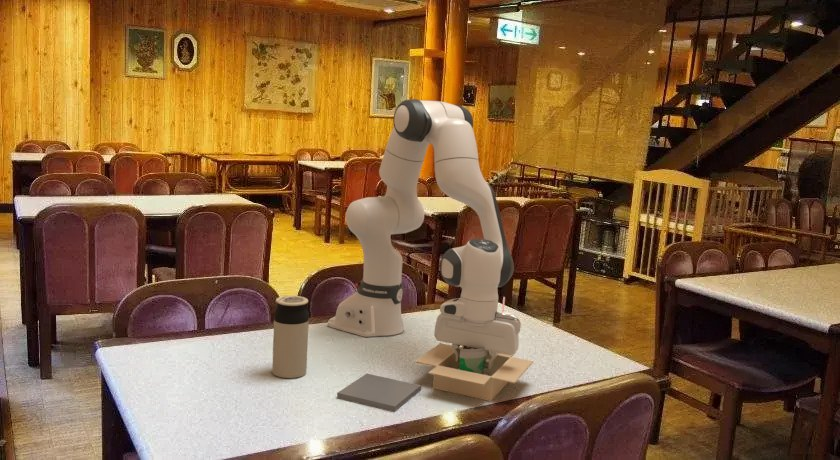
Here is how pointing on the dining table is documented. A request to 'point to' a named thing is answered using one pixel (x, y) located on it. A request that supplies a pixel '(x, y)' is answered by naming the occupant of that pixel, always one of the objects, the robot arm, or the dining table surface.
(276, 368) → the travel mug
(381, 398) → the slate board
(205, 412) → the dining table surface
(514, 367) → the carton
